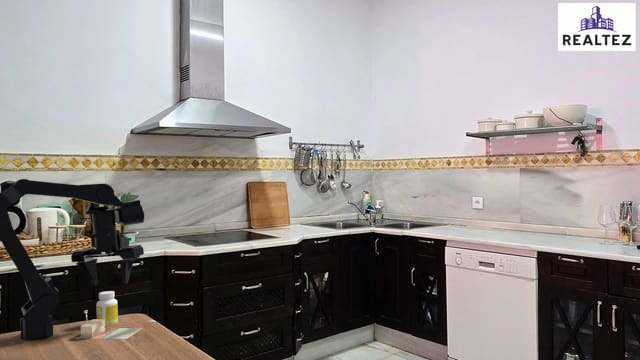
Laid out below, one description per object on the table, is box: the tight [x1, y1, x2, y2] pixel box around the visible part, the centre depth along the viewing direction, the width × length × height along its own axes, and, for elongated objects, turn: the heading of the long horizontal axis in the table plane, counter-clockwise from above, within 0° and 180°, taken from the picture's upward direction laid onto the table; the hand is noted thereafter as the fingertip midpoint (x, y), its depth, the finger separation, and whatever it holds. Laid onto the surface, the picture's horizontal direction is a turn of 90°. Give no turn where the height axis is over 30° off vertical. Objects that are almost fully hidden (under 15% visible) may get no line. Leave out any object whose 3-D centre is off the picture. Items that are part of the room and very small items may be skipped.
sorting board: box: [75, 327, 143, 340], centre depth 124 cm, size 14×10×1 cm
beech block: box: [80, 319, 106, 338], centre depth 123 cm, size 6×3×3 cm, turn 176°
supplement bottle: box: [95, 290, 119, 327], centre depth 133 cm, size 5×5×10 cm
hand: (110, 284), depth 133 cm, fingers open, 9 cm apart
